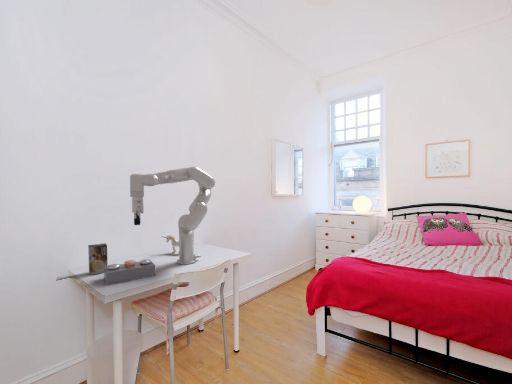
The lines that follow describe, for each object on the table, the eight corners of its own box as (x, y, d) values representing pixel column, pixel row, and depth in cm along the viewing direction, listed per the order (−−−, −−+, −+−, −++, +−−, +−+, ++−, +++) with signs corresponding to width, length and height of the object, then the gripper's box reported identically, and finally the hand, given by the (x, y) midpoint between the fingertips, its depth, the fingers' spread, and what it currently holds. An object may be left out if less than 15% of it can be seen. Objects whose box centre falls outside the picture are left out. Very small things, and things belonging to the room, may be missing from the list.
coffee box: (106, 269, 158) (106, 242, 157) (107, 272, 152) (107, 244, 152) (88, 272, 152) (88, 244, 152) (89, 275, 147) (88, 247, 147)
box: (150, 269, 157) (150, 259, 157) (155, 275, 147) (155, 265, 147) (104, 277, 143) (104, 266, 143) (106, 284, 134) (106, 273, 133)
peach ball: (134, 269, 149) (134, 259, 149) (136, 272, 145) (136, 261, 144) (123, 271, 146) (123, 261, 146) (125, 274, 141) (125, 263, 141)
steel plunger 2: (149, 268, 154) (149, 258, 154) (151, 271, 149) (151, 261, 149) (139, 270, 151) (139, 260, 150) (141, 273, 146) (141, 262, 146)
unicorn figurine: (165, 251, 199) (165, 234, 199) (190, 252, 198) (190, 234, 198) (161, 254, 192) (161, 236, 192) (187, 254, 191) (187, 236, 191)
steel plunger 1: (118, 274, 145) (118, 263, 144) (120, 277, 140) (120, 265, 140) (107, 276, 141) (107, 265, 141) (108, 279, 137) (108, 267, 137)
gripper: (146, 194, 153) (146, 226, 154) (141, 194, 165) (141, 222, 166) (132, 195, 149) (132, 227, 149) (128, 194, 161) (128, 223, 161)
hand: (137, 224), depth 157 cm, fingers closed
